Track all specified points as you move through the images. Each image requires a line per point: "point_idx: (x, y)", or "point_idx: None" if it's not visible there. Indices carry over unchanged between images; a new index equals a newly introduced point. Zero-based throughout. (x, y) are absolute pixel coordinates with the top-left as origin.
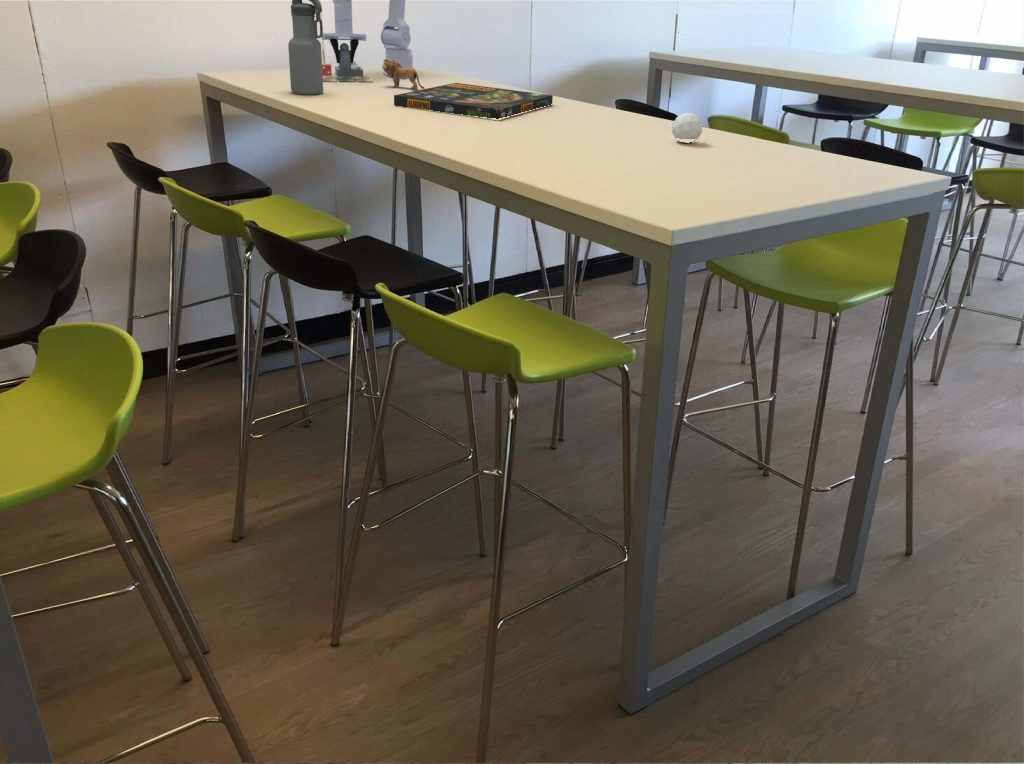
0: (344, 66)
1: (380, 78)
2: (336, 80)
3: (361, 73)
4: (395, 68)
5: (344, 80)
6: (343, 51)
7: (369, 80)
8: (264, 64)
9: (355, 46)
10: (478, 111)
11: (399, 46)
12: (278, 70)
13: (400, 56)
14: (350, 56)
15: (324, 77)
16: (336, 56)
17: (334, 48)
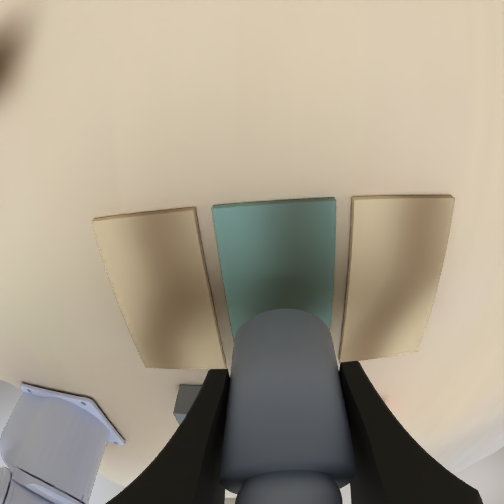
0: (294, 327)
1: (95, 354)
2: (355, 213)
3: (185, 399)
4: None
5: (294, 221)
6: (310, 453)
7: (114, 247)
8: (449, 468)
9: (138, 501)
10: None
11: (12, 477)
12: (469, 427)
13: (25, 447)
14: (226, 423)
15: (401, 324)
16: (382, 401)
17: (427, 463)
